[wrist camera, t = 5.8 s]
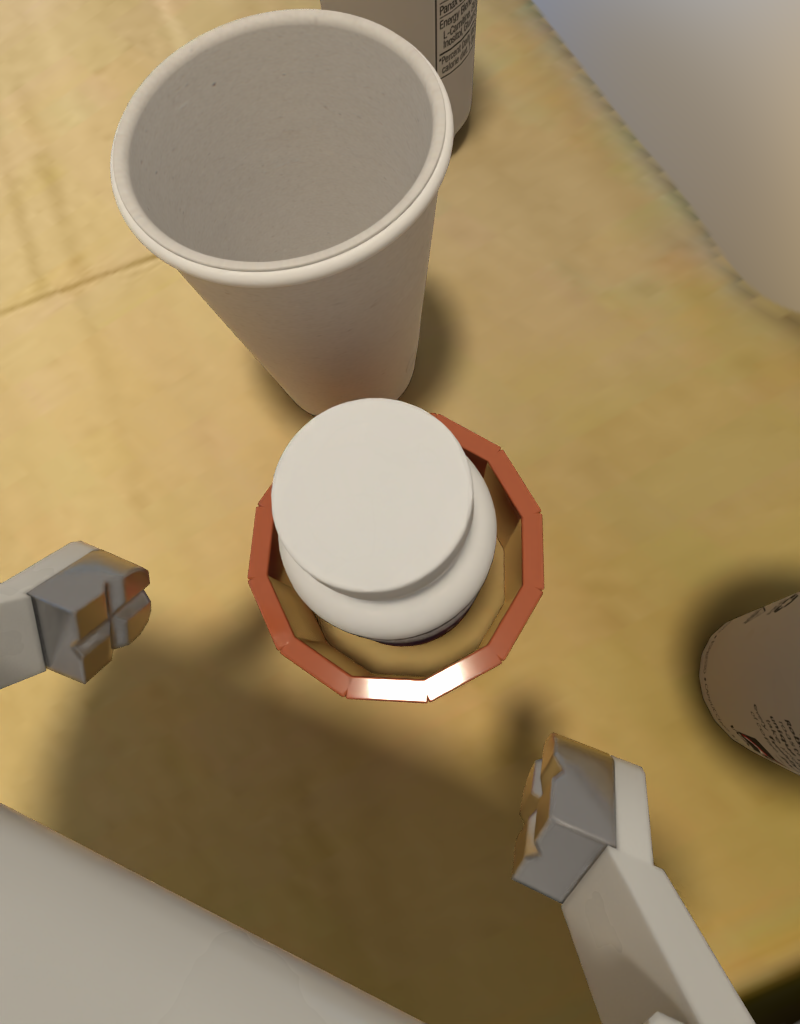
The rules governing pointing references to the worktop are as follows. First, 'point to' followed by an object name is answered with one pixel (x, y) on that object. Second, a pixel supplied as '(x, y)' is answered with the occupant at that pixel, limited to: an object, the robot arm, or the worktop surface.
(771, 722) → the coffee cup
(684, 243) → the worktop surface
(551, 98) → the worktop surface
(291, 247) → the dixie cup
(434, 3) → the energy drink can
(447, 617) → the pill bottle
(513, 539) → the holder cup
